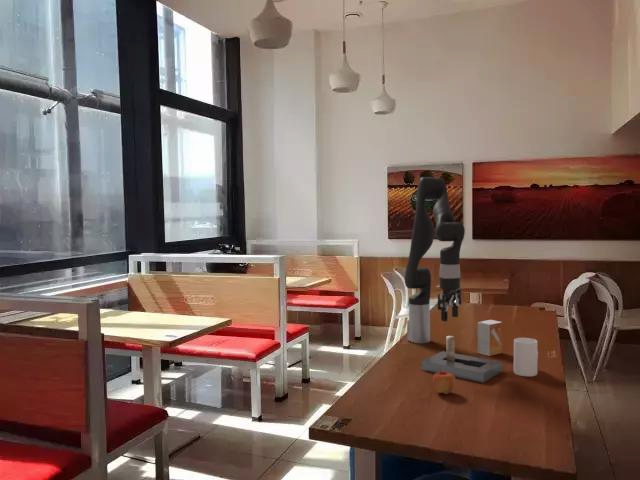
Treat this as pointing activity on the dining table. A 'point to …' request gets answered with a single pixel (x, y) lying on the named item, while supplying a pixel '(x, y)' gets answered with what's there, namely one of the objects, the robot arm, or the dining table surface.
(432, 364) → the keyhole plate
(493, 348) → the small box
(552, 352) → the dining table surface
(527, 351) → the mug
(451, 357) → the stud
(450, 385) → the apple
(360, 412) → the dining table surface
